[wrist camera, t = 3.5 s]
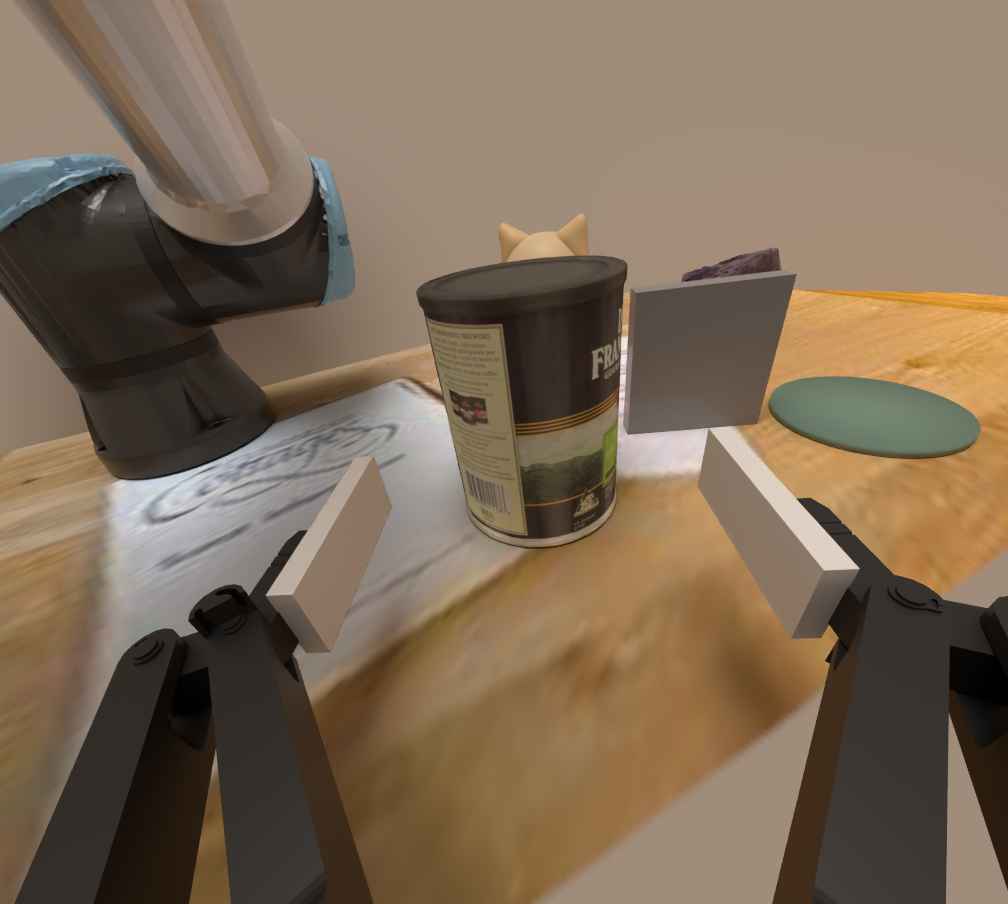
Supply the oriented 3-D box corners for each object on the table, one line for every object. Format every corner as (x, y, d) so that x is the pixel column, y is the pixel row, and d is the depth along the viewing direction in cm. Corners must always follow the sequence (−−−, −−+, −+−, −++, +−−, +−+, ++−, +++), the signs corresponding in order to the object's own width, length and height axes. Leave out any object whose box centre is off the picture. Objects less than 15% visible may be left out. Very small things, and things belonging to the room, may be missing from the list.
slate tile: (756, 423, 31) (796, 274, 25) (627, 434, 32) (636, 292, 26) (745, 413, 32) (780, 269, 26) (622, 423, 33) (629, 287, 27)
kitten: (617, 334, 53) (621, 206, 45) (601, 361, 46) (603, 212, 38) (516, 334, 59) (504, 220, 51) (488, 357, 52) (469, 228, 43)
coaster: (735, 399, 34) (737, 393, 34) (852, 373, 36) (854, 367, 35) (873, 475, 24) (877, 467, 24) (1027, 434, 26) (1032, 426, 25)
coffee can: (618, 454, 29) (628, 247, 22) (613, 559, 21) (626, 285, 14) (490, 448, 32) (459, 264, 25) (442, 538, 24) (374, 304, 17)
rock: (680, 325, 57) (684, 346, 49) (677, 263, 53) (681, 275, 45) (775, 308, 52) (797, 328, 44) (779, 239, 49) (804, 247, 41)
